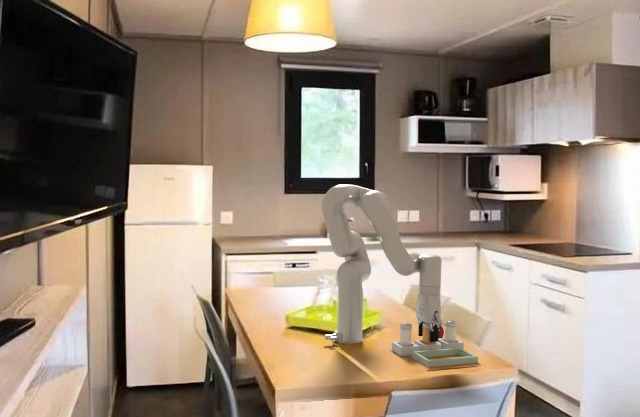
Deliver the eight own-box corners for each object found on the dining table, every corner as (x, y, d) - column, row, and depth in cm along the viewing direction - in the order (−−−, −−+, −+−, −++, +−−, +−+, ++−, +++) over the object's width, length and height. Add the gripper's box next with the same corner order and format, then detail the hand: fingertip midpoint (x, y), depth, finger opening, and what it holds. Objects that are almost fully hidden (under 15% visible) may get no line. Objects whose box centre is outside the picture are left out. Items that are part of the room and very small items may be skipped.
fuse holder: (400, 361, 210) (400, 348, 210) (389, 353, 219) (389, 341, 219) (466, 355, 219) (466, 343, 219) (452, 348, 227) (453, 336, 227)
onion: (444, 340, 239) (445, 320, 238) (442, 344, 233) (443, 323, 233) (429, 338, 241) (430, 318, 240) (427, 342, 235) (427, 321, 235)
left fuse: (402, 354, 213) (403, 326, 213) (397, 351, 217) (398, 323, 217) (413, 353, 215) (413, 325, 214) (407, 350, 218) (408, 322, 218)
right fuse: (447, 350, 219) (448, 323, 219) (441, 347, 223) (442, 320, 222) (457, 349, 220) (458, 322, 220) (451, 346, 224) (452, 319, 224)
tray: (427, 371, 200) (428, 360, 200) (411, 361, 210) (412, 351, 210) (477, 366, 206) (478, 356, 206) (459, 357, 216) (460, 347, 216)
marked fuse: (425, 352, 216) (426, 324, 216) (419, 349, 220) (420, 321, 219) (435, 351, 218) (436, 323, 217) (429, 348, 221) (430, 321, 221)
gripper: (408, 285, 225) (407, 333, 226) (432, 294, 208) (431, 346, 209) (426, 285, 227) (425, 332, 228) (451, 293, 211) (450, 344, 212)
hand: (428, 338), depth 219 cm, fingers open, 7 cm apart
